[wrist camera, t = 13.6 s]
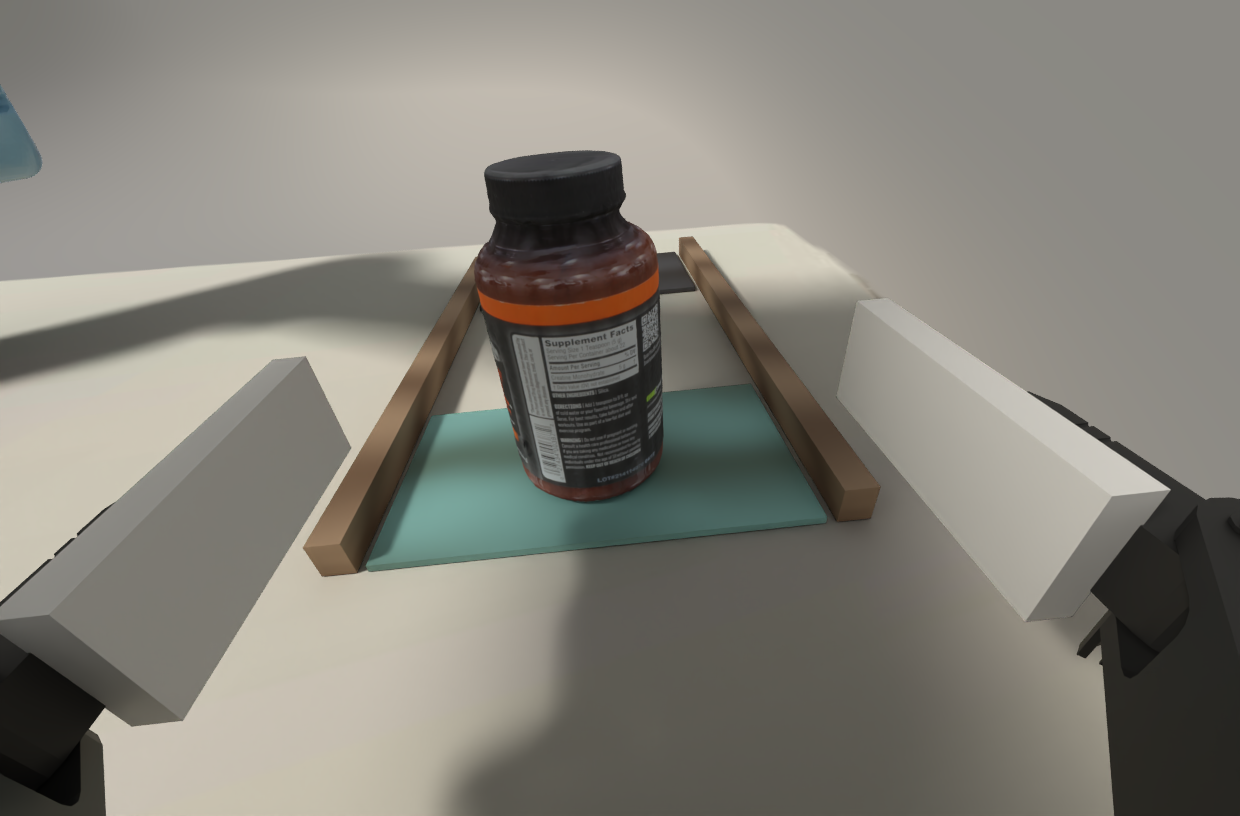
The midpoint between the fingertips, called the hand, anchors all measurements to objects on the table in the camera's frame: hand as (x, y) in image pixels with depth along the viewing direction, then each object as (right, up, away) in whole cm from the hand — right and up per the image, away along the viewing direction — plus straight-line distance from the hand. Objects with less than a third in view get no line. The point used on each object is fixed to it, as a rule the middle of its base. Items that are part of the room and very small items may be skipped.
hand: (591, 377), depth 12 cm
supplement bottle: (0, -3, +8) cm, 9 cm away
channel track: (-1, +3, +18) cm, 18 cm away
